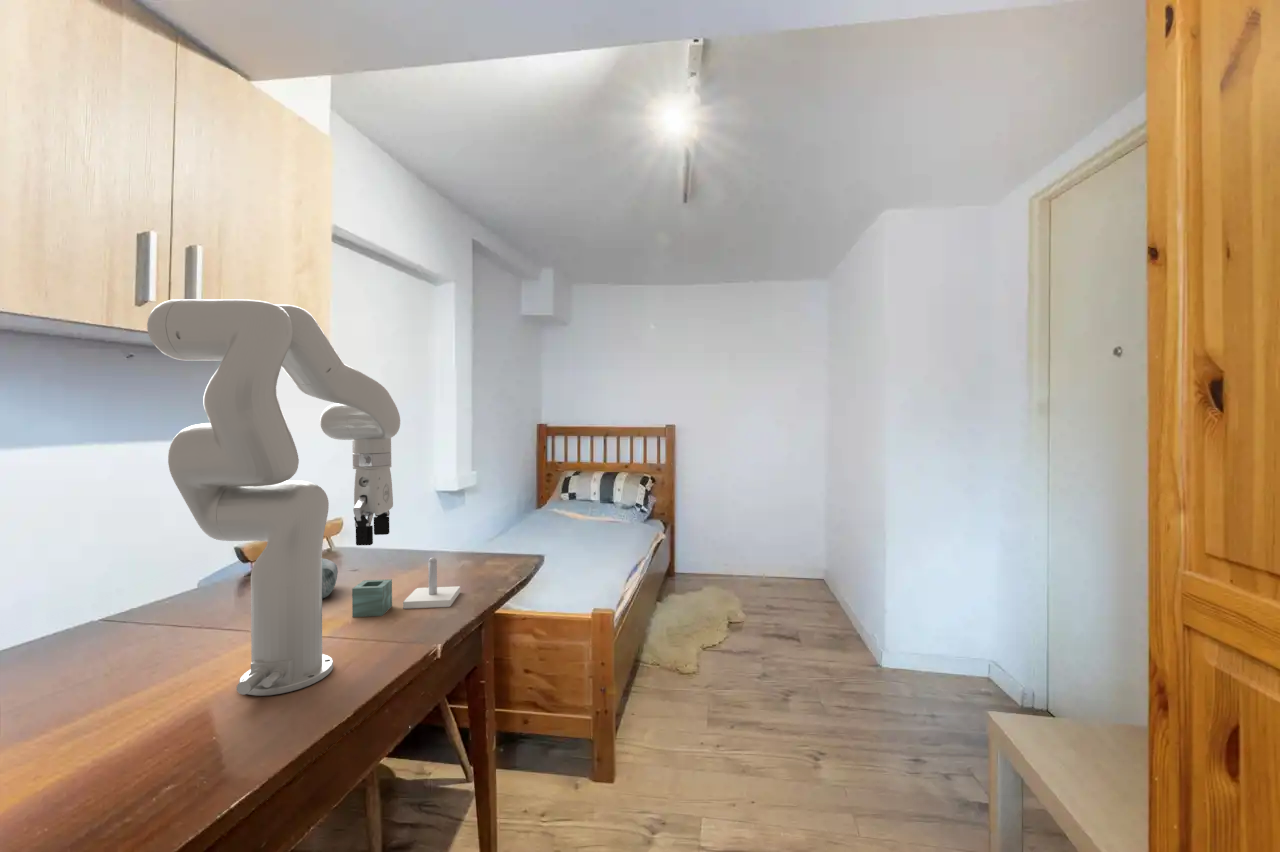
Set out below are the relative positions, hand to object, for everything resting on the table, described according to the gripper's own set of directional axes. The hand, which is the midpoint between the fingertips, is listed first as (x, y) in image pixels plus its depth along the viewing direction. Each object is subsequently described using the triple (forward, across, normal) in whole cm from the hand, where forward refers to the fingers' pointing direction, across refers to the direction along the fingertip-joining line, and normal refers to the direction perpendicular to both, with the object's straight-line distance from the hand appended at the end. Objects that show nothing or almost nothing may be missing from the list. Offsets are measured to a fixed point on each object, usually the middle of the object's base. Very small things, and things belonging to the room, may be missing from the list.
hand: (373, 539), depth 116 cm
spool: (+16, +13, +18) cm, 28 cm away
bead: (+16, -1, 0) cm, 16 cm away
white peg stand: (+16, +5, -11) cm, 20 cm away
